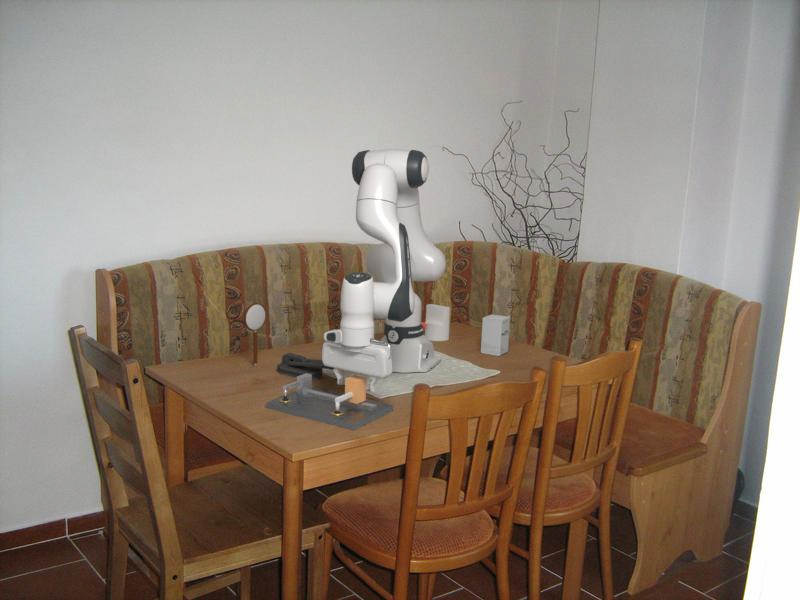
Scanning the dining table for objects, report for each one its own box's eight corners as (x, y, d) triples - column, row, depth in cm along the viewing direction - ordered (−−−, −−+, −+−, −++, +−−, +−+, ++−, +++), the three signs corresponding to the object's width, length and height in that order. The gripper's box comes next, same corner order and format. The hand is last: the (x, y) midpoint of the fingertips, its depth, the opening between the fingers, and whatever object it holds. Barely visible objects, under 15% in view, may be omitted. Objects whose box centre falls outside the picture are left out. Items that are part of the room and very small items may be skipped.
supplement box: (499, 356, 262) (501, 320, 260) (480, 353, 266) (481, 317, 264) (508, 352, 269) (510, 316, 266) (489, 348, 272) (491, 313, 270)
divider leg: (353, 398, 206) (354, 375, 205) (366, 401, 204) (366, 377, 203) (329, 409, 198) (330, 384, 196) (342, 412, 195) (343, 387, 194)
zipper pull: (333, 366, 221) (272, 350, 236) (332, 389, 222) (272, 372, 237) (354, 360, 228) (294, 345, 243) (353, 382, 229) (294, 366, 244)
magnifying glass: (246, 369, 239) (246, 305, 235) (242, 368, 240) (242, 304, 236) (267, 363, 245) (267, 301, 241) (264, 362, 246) (263, 300, 243)
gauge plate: (309, 391, 219) (309, 368, 218) (393, 410, 205) (393, 386, 204) (266, 407, 204) (266, 384, 203) (354, 430, 190) (354, 404, 189)
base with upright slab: (419, 338, 285) (420, 305, 283) (434, 334, 292) (435, 302, 290) (439, 342, 280) (440, 309, 277) (453, 338, 286) (455, 306, 284)
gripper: (397, 340, 198) (396, 391, 200) (332, 328, 208) (332, 377, 211) (384, 345, 192) (383, 398, 195) (318, 332, 203) (318, 383, 206)
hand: (356, 387), depth 203 cm, fingers open, 8 cm apart
